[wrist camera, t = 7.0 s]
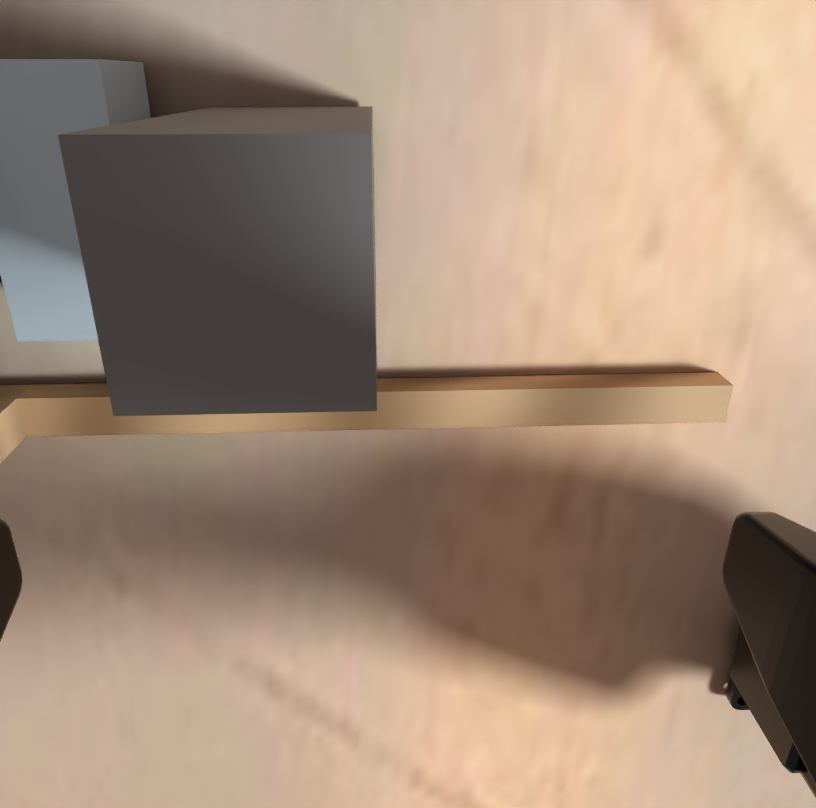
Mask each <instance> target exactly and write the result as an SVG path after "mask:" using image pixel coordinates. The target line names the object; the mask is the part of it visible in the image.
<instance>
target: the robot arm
mask: <svg viewBox="0 0 816 808" xmlns="http://www.w3.org/2000/svg"><path fill="white" fill-rule="evenodd" d="M723 580H724V584H725V587H726V590H727V592H728V595H729V597H730V600H731V602H732V605H733V608H734V610H735V613H736V615H737V618H738V620H739V623H740V625H741V631H740V635H739V639H738V643H737V646H736V650H735V654H734V658H733V662H732V666H731V670H730V680H729V684H728V687H727V691H726V697H727V698H728V700H729V702H730V704H731V705H732V707H733V708H735V709H738V710H750V711H751V713H752V714H753V716H754V718H755V719H756V721H757V723H758V724H759V726H760V728H761V729H762V731H763V733H764V734H765V736H766V738H767V739H768V741H769V743H770V744H771V746H772V748H773V750H774V751H775V753H776V755H777V756H778V758H779V760H780V761H781V763H782V765H783V766H784V767H785V768H786V769H787V770H788V771H789V772H791V773H801V775H802V776H803V778H804V779H805V781H806V783H807V784H808V786H809V788H810V789H811V791H812V792H813V794H814V796H815V797H816V532H814V531H812V530H810V529H808V528H806V527H804V526H802V525H799V524H797V523H795V522H793V521H791V520H789V519H787V518H785V517H782V516H780V515H778V514H776V513H772V512H744V513H741V514H740V515H738V516H737V517H736V519H735V521H734V523H733V527H732V531H731V535H730V539H729V543H728V547H727V551H726V555H725V559H724V563H723ZM21 587H22V573H21V569H20V565H19V561H18V557H17V553H16V550H15V546H14V542H13V538H12V535H11V531H10V528H9V526H8V525H7V523H6V522H5V521H3V520H1V519H0V641H1V639H2V636H3V634H4V631H5V629H6V627H7V624H8V622H9V619H10V617H11V614H12V612H13V610H14V607H15V605H16V602H17V600H18V597H19V595H20V591H21Z"/></svg>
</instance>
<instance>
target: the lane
mask: <svg viewBox="0 0 816 808" xmlns="http://www.w3.org/2000/svg"><path fill="white" fill-rule="evenodd" d="M732 388H733V385H732V384H731V383H730V382H729V381H727V380H726V379H725V378H724V377H723V376H722V375H720V374H719V373H718V372H709V373H653V374H597V375H540V376H484V377H428V378H377V411H356V412H305V413H254V414H204V415H153V416H113V412H112V407H111V402H110V397H109V392H108V386H107V383H92V384H36V385H31V386H30V387H29V388H28V389H27V390H26V391H24V392H23V393H22V394H21V395H20V396H19V397H18V398H17V403H18V406H19V410H20V414H21V418H22V422H23V426H24V430H25V433H26V437H33V436H82V435H130V434H178V433H226V432H274V431H323V430H371V429H419V428H467V427H515V426H563V425H612V424H660V423H708V422H725V421H726V416H727V411H728V407H729V402H730V397H731V393H732Z"/></svg>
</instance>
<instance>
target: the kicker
mask: <svg viewBox="0 0 816 808" xmlns="http://www.w3.org/2000/svg"><path fill="white" fill-rule="evenodd" d="M0 275H1V279H2V283H3V287H4V291H5V295H6V299H7V303H8V307H9V311H10V315H11V319H12V323H13V327H14V331H15V335H16V339H17V342H23V341H88V340H98V341H99V346H100V351H101V356H102V361H103V366H104V371H105V376H106V381H107V386H108V392H109V397H110V402H111V407H112V412H113V416H153V415H204V414H254V413H305V412H356V411H377V358H376V268H375V217H374V168H373V119H372V107H208V108H203V109H197V110H191V111H186V112H180V113H175V114H169V115H164V116H158V117H153V118H151V115H150V108H149V101H148V94H147V87H146V80H145V73H144V66H143V62H134V61H119V60H104V59H0Z"/></svg>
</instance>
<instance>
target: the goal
mask: <svg viewBox="0 0 816 808" xmlns="http://www.w3.org/2000/svg"><path fill="white" fill-rule="evenodd" d="M30 386H31V385H0V463H1V462H2V461H3V460H4V459H5V458H6V457H7V456H8V455H9V454H10V453H11V452H12V451H13V450H14V449H15V448H16V447H17V446H18V445H19V444H20V443H21V442H22V441H23V440H24V439H25V438H26V433H25V430H24V426H23V422H22V418H21V414H20V410H19V406H18V403H17V398H18V397H19V396H20V395H21V394H22V393H23V392H24V391H26V390H27V389H28V388H29V387H30Z"/></svg>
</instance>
